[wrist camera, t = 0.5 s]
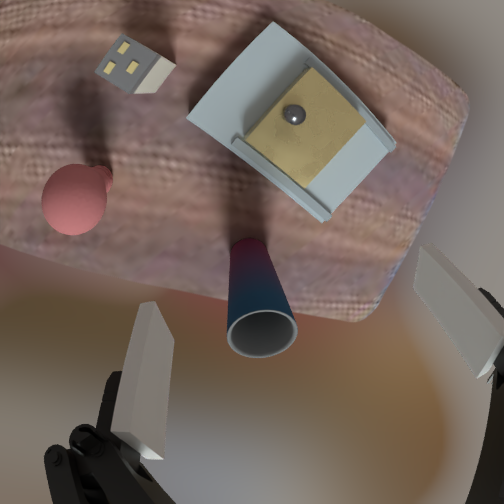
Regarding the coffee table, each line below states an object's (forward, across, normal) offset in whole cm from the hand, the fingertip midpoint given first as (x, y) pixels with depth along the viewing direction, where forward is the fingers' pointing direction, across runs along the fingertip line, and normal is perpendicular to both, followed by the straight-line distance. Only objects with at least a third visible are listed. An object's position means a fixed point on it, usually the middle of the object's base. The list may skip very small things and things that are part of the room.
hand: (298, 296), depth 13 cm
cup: (+24, -2, -12) cm, 27 cm away
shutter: (+21, +6, +4) cm, 22 cm away
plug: (+24, -9, +14) cm, 29 cm away
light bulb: (+24, -18, +4) cm, 30 cm away
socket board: (+24, +6, +4) cm, 25 cm away
